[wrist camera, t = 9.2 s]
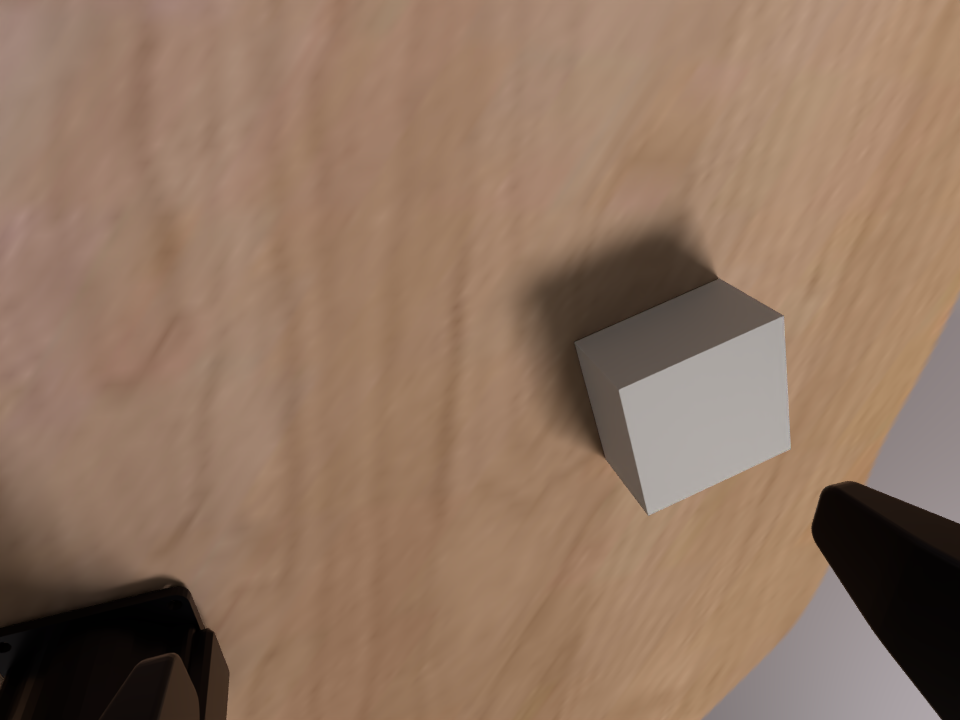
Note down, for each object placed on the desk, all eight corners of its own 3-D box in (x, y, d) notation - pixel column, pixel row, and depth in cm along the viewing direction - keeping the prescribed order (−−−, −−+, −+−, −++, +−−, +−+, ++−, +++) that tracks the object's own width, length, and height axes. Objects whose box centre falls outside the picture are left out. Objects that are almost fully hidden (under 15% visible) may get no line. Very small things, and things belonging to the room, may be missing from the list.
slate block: (605, 459, 26) (648, 515, 23) (574, 342, 23) (618, 389, 20) (733, 401, 27) (790, 448, 24) (719, 278, 23) (783, 315, 20)
